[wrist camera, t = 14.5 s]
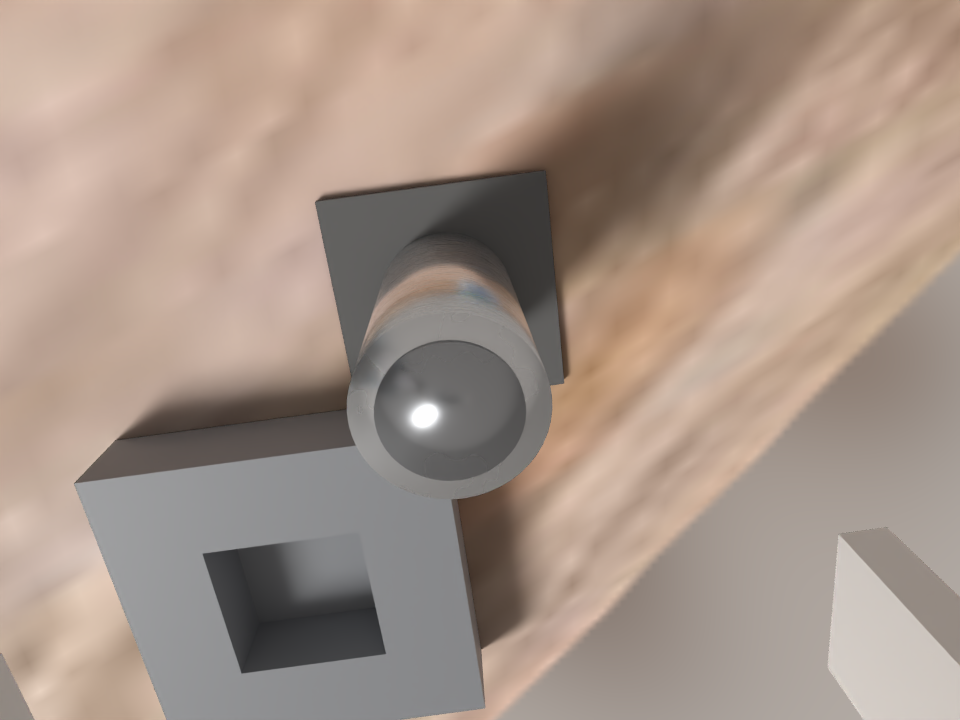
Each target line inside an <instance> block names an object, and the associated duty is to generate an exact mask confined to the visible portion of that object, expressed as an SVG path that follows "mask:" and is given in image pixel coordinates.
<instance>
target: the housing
mask: <svg viewBox="0 0 960 720" xmlns="http://www.w3.org/2000/svg"><path fill="white" fill-rule="evenodd" d="M74 485H75V487H76V490H77V493H78V495H79V498H80V500H81V503H82V505H83V508H84V510H85V513H86V516H87V518H88V521H89V523H90V526H91V528H92V531H93V533H94V536H95V538H96V541H97V544H98V546H99V549H100V551H101V554H102V556H103V559H104V561H105V564H106V567H107V569H108V572H109V574H110V577H111V579H112V582H113V584H114V587H115V590H116V592H117V595H118V597H119V600H120V602H121V605H122V607H123V610H124V612H125V615H126V618H127V620H128V623H129V625H130V628H131V630H132V633H133V635H134V638H135V641H136V643H137V646H138V648H139V651H140V653H141V656H142V658H143V661H144V663H145V666H146V669H147V671H148V674H149V676H150V679H151V681H152V684H153V686H154V689H155V692H156V694H157V697H158V699H159V702H160V704H161V707H162V709H163V712H164V715H165V717H166V720H402V719H410V718H417V717H424V716H432V715H439V714H446V713H454V712H461V711H469V710H476V709H483V708H485V698H484V683H483V669H482V654H481V646H480V639H479V633H478V627H477V620H476V614H475V608H474V602H473V595H472V589H471V583H470V576H469V570H468V564H467V558H466V551H465V545H464V539H463V532H462V526H461V520H460V514H459V507H458V501H457V499H436V498H429V497H424V496H420V495H416V494H413V493H410V492H408V491H405V490H403V489H401V488H399V487H397V486H395V485H393V484H392V483H390V482H389V481H387V480H386V479H384V478H383V477H381V476H380V475H379V474H378V473H377V472H376V471H375V470H374V469H373V468H372V467H371V466H370V465H369V464H368V463H367V462H366V460H365V459H364V458H363V456H362V455H361V453H360V452H359V450H358V448H357V446H356V444H355V442H354V440H353V438H352V435H351V431H350V428H349V424H348V417H347V409H346V410H338V411H331V412H323V413H316V414H308V415H301V416H294V417H286V418H279V419H271V420H264V421H256V422H249V423H241V424H234V425H227V426H219V427H212V428H204V429H197V430H189V431H182V432H175V433H167V434H160V435H152V436H145V437H137V438H130V439H122V440H115V441H114V442H113V443H112V444H111V446H110V447H109V448H108V449H107V450H106V451H105V452H104V453H103V454H102V455H101V456H100V457H99V458H98V459H97V460H96V461H95V462H94V463H93V464H92V465H91V466H90V467H89V468H88V469H87V470H86V472H85V473H84V474H83V475H82V476H81V477H80V478H79V479H78V480H77V481H76V482H75V483H74Z"/></svg>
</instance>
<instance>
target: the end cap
mask: <svg viewBox="0 0 960 720" xmlns="http://www.w3.org/2000/svg"><path fill="white" fill-rule="evenodd" d="M551 415H552V394H551V388H550V384H549V380H548V377H547V374H546V371H545V369H544V366H543V364H542V361H541V358H540V356H539V353H538V351H537V348H536V345H535V343H534V340H533V338H532V335H531V332H530V330H529V327H528V325H527V322H526V319H525V317H524V314H523V312H522V309H521V306H520V304H519V301H518V299H517V296H516V293H515V291H514V288H513V286H512V283H511V280H510V278H509V275H508V273H507V271H506V269H505V267H504V265H503V263H502V262H501V260H500V259H499V258H498V257H497V255H496V254H495V253H494V252H493V251H492V250H491V249H489V248H488V247H487V246H486V245H484V244H483V243H481V242H479V241H477V240H475V239H473V238H471V237H468V236H465V235H461V234H455V233H437V234H432V235H428V236H425V237H422V238H419V239H417V240H415V241H413V242H411V243H410V244H409V245H407V246H406V247H404V248H403V249H402V250H401V251H400V252H399V253H398V254H397V255H396V256H395V257H394V259H393V260H392V261H391V263H390V265H389V266H388V268H387V270H386V272H385V275H384V278H383V281H382V284H381V287H380V290H379V293H378V297H377V300H376V303H375V306H374V309H373V312H372V316H371V319H370V322H369V325H368V328H367V331H366V334H365V338H364V341H363V344H362V347H361V350H360V353H359V357H358V360H357V363H356V366H355V369H354V372H353V376H352V379H351V382H350V385H349V389H348V396H347V417H348V424H349V428H350V431H351V435H352V438H353V440H354V442H355V444H356V446H357V448H358V450H359V452H360V453H361V455H362V456H363V458H364V459H365V460H366V462H367V463H368V464H369V465H370V466H371V467H372V468H373V469H374V470H375V471H376V472H377V473H378V474H379V475H380V476H381V477H383V478H384V479H386V480H387V481H389V482H390V483H392V484H393V485H395V486H397V487H399V488H401V489H403V490H405V491H408V492H410V493H413V494H416V495H420V496H424V497H429V498H436V499H461V498H468V497H473V496H477V495H481V494H484V493H487V492H490V491H492V490H494V489H496V488H498V487H501V486H502V485H504V484H506V483H507V482H509V481H511V480H512V479H513V478H514V477H516V476H517V475H518V474H520V473H521V472H522V471H523V470H524V469H525V468H526V467H527V466H528V465H529V464H530V463H531V461H532V460H533V459H534V457H535V456H536V455H537V453H538V452H539V450H540V448H541V447H542V445H543V443H544V440H545V438H546V436H547V433H548V430H549V426H550V422H551Z"/></svg>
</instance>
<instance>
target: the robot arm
mask: <svg viewBox="0 0 960 720" xmlns="http://www.w3.org/2000/svg"><path fill="white" fill-rule="evenodd" d="M828 668H829V670H830V672H831V673H832V674H833V676H834V677H835V679H836V680H837V682H838V683H839V685H840V686H841V688H842V689H843V691H844V692H845V693H846V695H847V696H848V698H849V699H850V701H851V702H852V704H853V705H854V707H855V708H856V709H857V711H858V712H859V714H860V715H861V717H862V718H863V720H960V597H959V596H958V595H957V594H956V593H955V592H954V591H953V590H952V589H951V588H950V587H949V586H948V585H947V584H946V583H944V581H942V580H941V579H940V578H939V577H938V576H937V575H936V574H935V573H934V572H933V571H932V570H931V569H930V568H929V567H928V566H927V565H926V564H924V562H922V560H921V559H919V558H918V557H917V556H916V555H915V554H914V553H913V552H912V551H911V550H910V549H909V548H908V547H907V546H906V545H905V544H904V543H903V542H902V541H901V540H900V539H899V538H898V537H897V536H896V535H895V534H893V533H892V532H891V531H890V530H889V529H888V528H887V527H884V528H877V529H870V530H862V531H855V532H849V533H842V534H839V536H838V548H837V560H836V572H835V584H834V596H833V608H832V620H831V632H830V644H829V657H828ZM0 720H34V718H33V716H32V714H31V712H30V710H29V708H28V705H27V703H26V701H25V699H24V697H23V695H22V693H21V691H20V689H19V687H18V685H17V683H16V681H15V679H14V677H13V675H12V673H11V671H10V669H9V667H8V665H7V663H6V661H5V659H4V657H3V655H2V653H0Z"/></svg>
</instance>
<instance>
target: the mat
mask: <svg viewBox="0 0 960 720" xmlns="http://www.w3.org/2000/svg"><path fill="white" fill-rule="evenodd" d="M315 205H316V209H317V214H318V219H319V224H320V229H321V233H322V238H323V243H324V248H325V253H326V257H327V262H328V267H329V272H330V276H331V281H332V286H333V291H334V296H335V300H336V305H337V310H338V315H339V320H340V324H341V329H342V334H343V339H344V344H345V348H346V353H347V358H348V363H349V367H350V372H351V377H352V376H353V372H354V369H355V366H356V363H357V360H358V357H359V353H360V350H361V347H362V344H363V341H364V338H365V334H366V331H367V328H368V325H369V322H370V319H371V316H372V312H373V309H374V306H375V303H376V300H377V297H378V293H379V290H380V287H381V284H382V281H383V278H384V275H385V272H386V270H387V268H388V266H389V265H390V263H391V261H392V260H393V259H394V257H395V256H396V255H397V254H398V253H399V252H400V251H401V250H402V249H403V248H404V247H406V246H407V245H409V244H410V243H411V242H413V241H415V240H417V239H419V238H422V237H425V236H428V235H432V234H437V233H455V234H461V235H465V236H468V237H471V238H473V239H475V240H477V241H479V242H481V243H483V244H484V245H486V246H487V247H488V248H489V249H491V250H492V251H493V252H494V253H495V254H496V255H497V257H498V258H499V259H500V260H501V262H502V263H503V265H504V267H505V269H506V271H507V273H508V275H509V278H510V280H511V283H512V286H513V288H514V291H515V293H516V296H517V299H518V301H519V304H520V306H521V309H522V312H523V314H524V317H525V319H526V322H527V325H528V327H529V330H530V332H531V335H532V338H533V340H534V343H535V345H536V348H537V351H538V353H539V356H540V358H541V361H542V364H543V366H544V369H545V371H546V374H547V377H548V380H549V384H550V385H557V384H564V376H563V364H562V353H561V341H560V330H559V318H558V307H557V295H556V284H555V272H554V261H553V249H552V238H551V226H550V215H549V203H548V192H547V180H546V171H545V170H542V171H535V172H528V173H520V174H513V175H505V176H498V177H490V178H483V179H475V180H468V181H460V182H453V183H445V184H438V185H430V186H423V187H415V188H408V189H401V190H393V191H386V192H378V193H371V194H363V195H356V196H348V197H341V198H333V199H326V200H318V201H316V202H315Z"/></svg>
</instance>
